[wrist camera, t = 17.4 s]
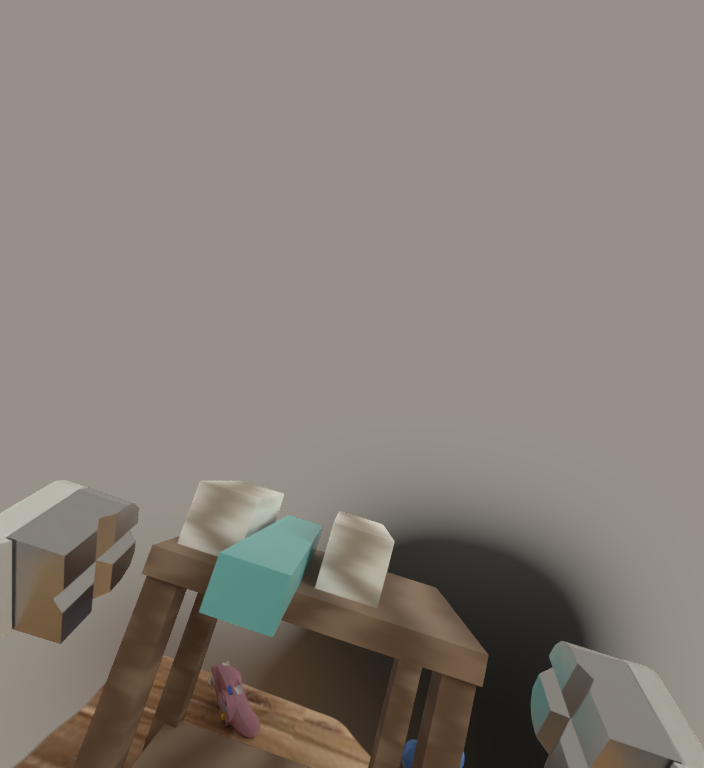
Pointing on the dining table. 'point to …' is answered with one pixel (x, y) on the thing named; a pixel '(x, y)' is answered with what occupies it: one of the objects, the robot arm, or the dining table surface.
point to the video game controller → (233, 700)
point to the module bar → (261, 575)
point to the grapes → (409, 754)
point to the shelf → (307, 609)
